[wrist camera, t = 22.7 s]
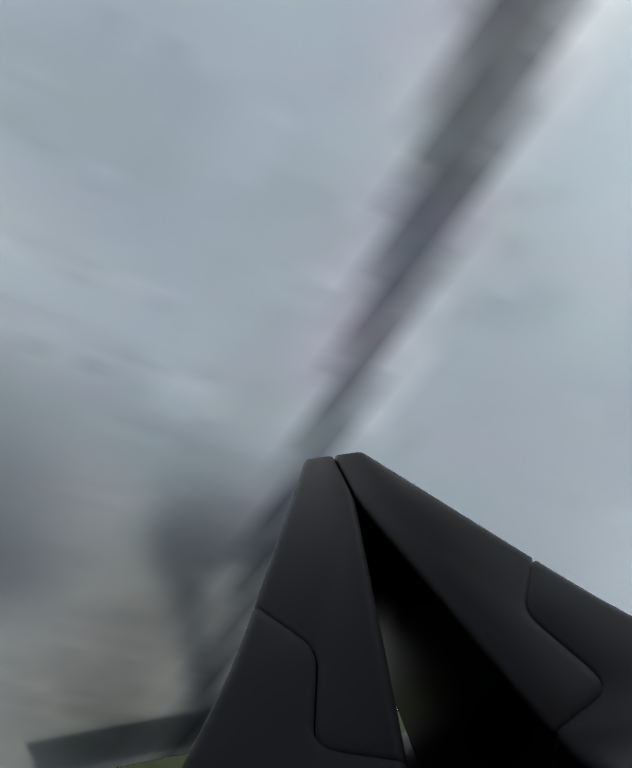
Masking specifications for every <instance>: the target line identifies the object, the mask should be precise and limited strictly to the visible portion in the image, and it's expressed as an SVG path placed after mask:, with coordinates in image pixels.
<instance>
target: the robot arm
mask: <svg viewBox="0 0 632 768" xmlns="http://www.w3.org/2000/svg"><path fill="white" fill-rule="evenodd" d="M395 703H396V704H395ZM396 706H397V709H398V711H399V714H400V716H401V719H402V722H403V724H404V727H405V730H406V732H407V735H408V738H409V740H410V743H411V746H412V748H413V751H414V754H415V756H416V759H417V761H418V764H419V767H420V768H632V616H631V615H629V614H627V613H625V612H623V611H621V610H620V609H618V608H616V607H614V606H612V605H610V604H608V603H607V602H605V601H603V600H601V599H599V598H597V597H596V596H594V595H592V594H591V593H589V592H587V591H586V590H584V589H582V588H580V587H579V586H577V585H575V584H574V583H572V582H570V581H569V580H567V579H565V578H564V577H562V576H560V575H559V574H557V573H555V572H554V571H552V570H551V569H549V568H547V567H546V566H544V565H542V564H541V563H539V562H538V561H534V562H533V563H532V558H531V557H529V556H528V555H526V554H524V553H523V552H521V551H520V550H518V549H516V548H515V547H513V546H512V545H510V544H508V543H507V542H505V541H504V540H502V539H500V538H499V537H497V536H496V535H494V534H492V533H491V532H489V531H487V530H486V529H484V528H483V527H481V526H479V525H478V524H476V523H475V522H473V521H471V520H470V519H468V518H467V517H465V516H463V515H462V514H460V513H459V512H457V511H455V510H454V509H452V508H451V507H449V506H447V505H446V504H444V503H442V502H441V501H439V500H438V499H436V498H434V497H433V496H431V495H430V494H428V493H426V492H425V491H423V490H422V489H420V488H418V487H417V486H415V485H414V484H412V483H410V482H409V481H407V480H406V479H404V478H402V477H401V476H399V475H397V474H396V473H394V472H393V471H391V470H389V469H388V468H386V467H385V466H383V465H381V464H380V463H378V462H377V461H375V460H373V459H372V458H370V457H369V456H367V455H365V454H363V453H361V452H356V453H350V454H343V455H338V456H336V457H335V459H333V458H332V457H329V456H328V457H321V458H314V459H308V460H306V462H305V463H304V466H303V469H302V472H301V475H300V477H299V480H298V483H297V486H296V489H295V492H294V495H293V498H292V501H291V503H290V506H289V509H288V512H287V515H286V518H285V521H284V524H283V527H282V529H281V532H280V535H279V538H278V541H277V544H276V547H275V550H274V552H273V555H272V558H271V561H270V564H269V567H268V570H267V573H266V576H265V578H264V581H263V584H262V587H261V590H260V593H259V596H258V599H257V602H256V604H255V610H254V611H253V612H252V615H251V618H250V621H249V624H248V626H247V629H246V632H245V635H244V637H243V640H242V643H241V645H240V648H239V650H238V653H237V655H236V658H235V660H234V663H233V665H232V668H231V670H230V672H229V674H228V676H227V678H226V680H225V682H224V685H223V687H222V689H221V691H220V693H219V695H218V697H217V699H216V701H215V703H214V705H213V707H212V709H211V711H210V713H209V715H208V717H207V719H206V721H205V723H204V725H203V727H202V728H201V730H200V732H199V734H198V736H197V738H196V740H195V742H194V744H193V746H192V748H191V750H190V751H189V753H188V755H187V757H186V759H185V761H184V763H183V765H182V767H181V768H408V767H407V759H406V754H405V749H404V744H403V739H402V734H401V729H400V724H399V719H398V714H397V709H396Z"/></svg>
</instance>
